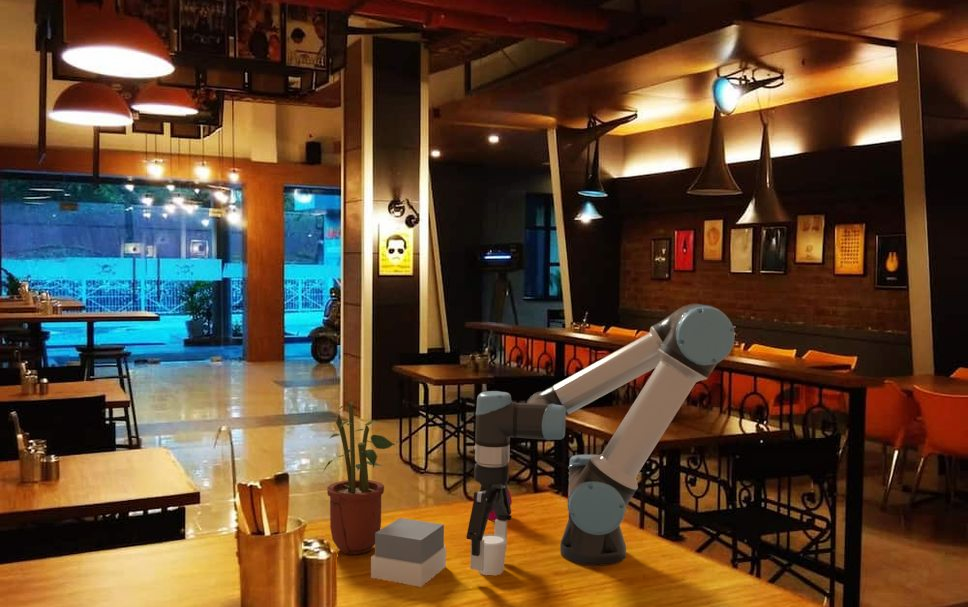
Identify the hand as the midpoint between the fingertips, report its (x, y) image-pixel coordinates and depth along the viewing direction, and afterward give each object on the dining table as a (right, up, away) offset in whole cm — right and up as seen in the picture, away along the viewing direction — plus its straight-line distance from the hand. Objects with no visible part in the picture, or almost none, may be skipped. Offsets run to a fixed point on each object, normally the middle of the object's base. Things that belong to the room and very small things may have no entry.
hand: (488, 558), depth 174 cm
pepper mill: (+3, -1, +37) cm, 37 cm away
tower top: (-17, +2, -1) cm, 17 cm away
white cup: (0, -3, 0) cm, 3 cm away
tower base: (-17, -3, -1) cm, 18 cm away
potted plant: (-32, -2, +14) cm, 35 cm away
